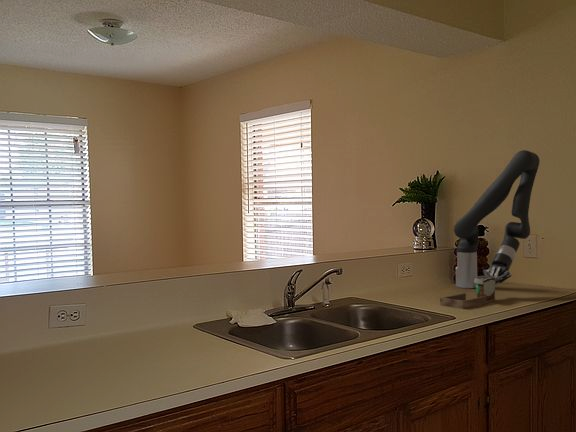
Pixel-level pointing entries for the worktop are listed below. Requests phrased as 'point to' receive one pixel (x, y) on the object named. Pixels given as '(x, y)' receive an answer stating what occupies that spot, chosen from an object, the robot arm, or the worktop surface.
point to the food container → (485, 287)
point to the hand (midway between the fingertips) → (489, 288)
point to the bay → (462, 301)
